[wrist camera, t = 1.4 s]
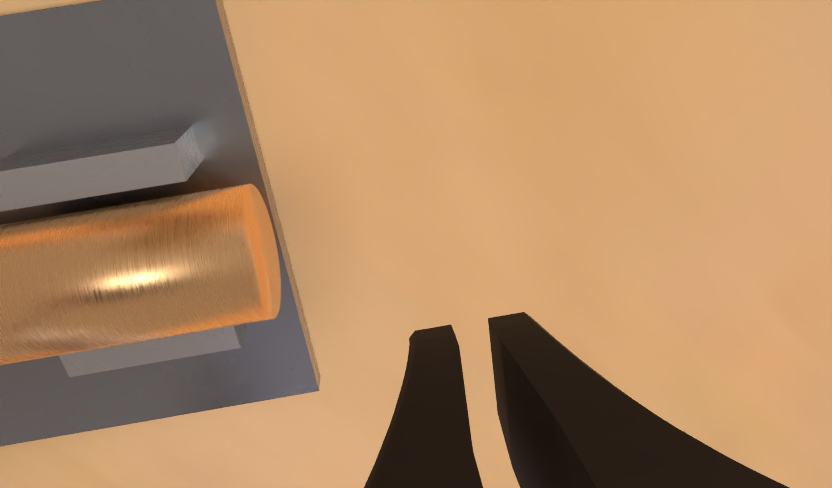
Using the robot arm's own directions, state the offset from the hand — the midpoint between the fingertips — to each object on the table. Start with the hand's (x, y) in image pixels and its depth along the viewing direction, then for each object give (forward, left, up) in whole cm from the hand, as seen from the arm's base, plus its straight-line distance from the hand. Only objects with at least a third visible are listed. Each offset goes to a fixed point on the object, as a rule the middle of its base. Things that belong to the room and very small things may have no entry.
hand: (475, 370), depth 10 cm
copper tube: (0, +12, -8) cm, 15 cm away
